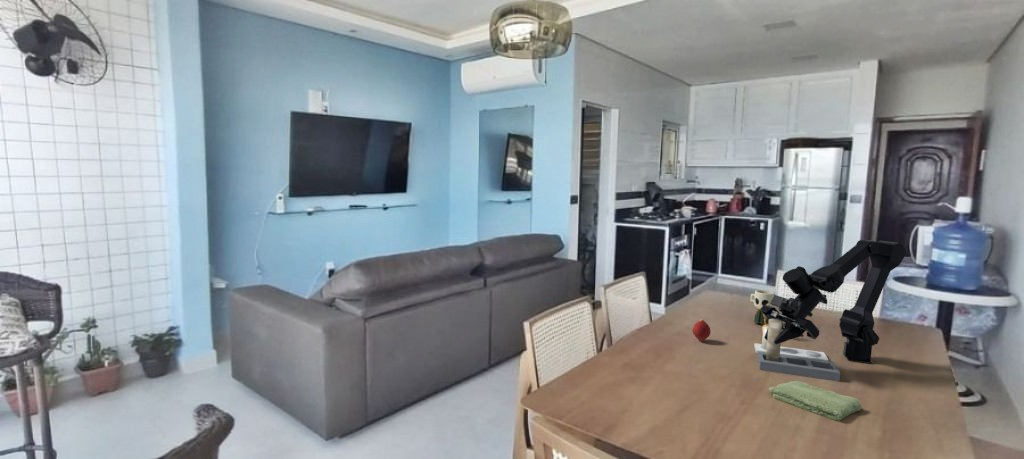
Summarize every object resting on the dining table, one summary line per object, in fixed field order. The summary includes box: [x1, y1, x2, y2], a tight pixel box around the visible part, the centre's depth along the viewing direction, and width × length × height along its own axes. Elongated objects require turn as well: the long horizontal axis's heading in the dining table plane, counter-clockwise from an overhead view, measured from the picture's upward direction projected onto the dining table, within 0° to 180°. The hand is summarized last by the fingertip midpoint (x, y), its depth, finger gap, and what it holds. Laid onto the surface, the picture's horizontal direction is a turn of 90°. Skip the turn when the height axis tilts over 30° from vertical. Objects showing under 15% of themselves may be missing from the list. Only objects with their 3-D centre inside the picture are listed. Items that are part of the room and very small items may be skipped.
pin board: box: [756, 352, 841, 382], centre depth 148 cm, size 20×9×2 cm, turn 68°
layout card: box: [753, 326, 830, 361], centre depth 161 cm, size 20×8×8 cm, turn 68°
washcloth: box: [768, 380, 862, 421], centre depth 127 cm, size 13×18×3 cm
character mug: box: [749, 289, 778, 326], centre depth 193 cm, size 11×7×13 cm, turn 39°
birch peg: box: [766, 319, 783, 362], centre depth 150 cm, size 4×4×13 cm
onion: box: [692, 318, 711, 342], centre depth 172 cm, size 6×6×8 cm
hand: (770, 341), depth 150 cm, fingers closed on birch peg, 4 cm apart
